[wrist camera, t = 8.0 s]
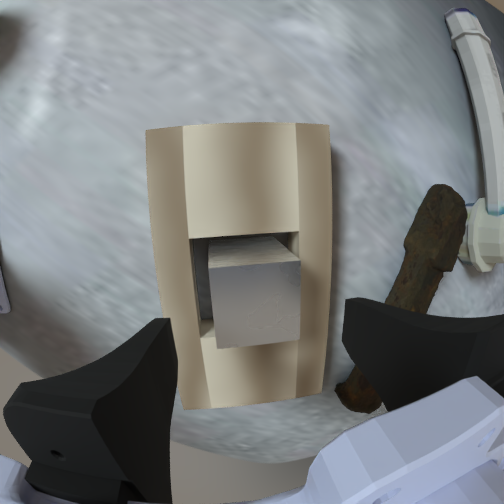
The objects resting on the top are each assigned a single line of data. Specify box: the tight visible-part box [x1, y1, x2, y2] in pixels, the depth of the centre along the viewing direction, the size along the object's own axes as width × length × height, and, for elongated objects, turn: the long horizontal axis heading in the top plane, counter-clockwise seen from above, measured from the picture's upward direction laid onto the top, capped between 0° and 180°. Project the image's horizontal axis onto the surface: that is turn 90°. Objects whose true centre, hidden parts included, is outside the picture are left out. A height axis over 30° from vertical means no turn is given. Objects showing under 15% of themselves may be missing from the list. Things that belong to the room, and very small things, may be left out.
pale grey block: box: [208, 236, 301, 349], centre depth 16 cm, size 4×4×6 cm
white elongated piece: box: [444, 8, 504, 272], centre depth 17 cm, size 5×7×25 cm
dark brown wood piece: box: [335, 184, 468, 414], centre depth 19 cm, size 19×4×5 cm, turn 160°
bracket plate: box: [146, 122, 332, 410], centre depth 17 cm, size 10×18×2 cm, turn 3°
